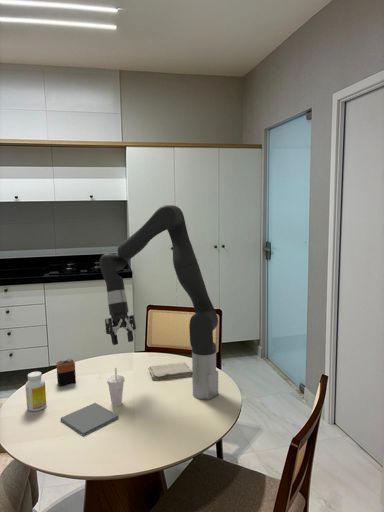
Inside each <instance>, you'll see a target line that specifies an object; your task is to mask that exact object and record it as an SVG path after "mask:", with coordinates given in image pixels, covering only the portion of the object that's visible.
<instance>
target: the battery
mask: <svg viewBox="0 0 384 512" xmlns="http://www.w3.org/2000/svg"><path fill="white" fill-rule="evenodd" d="M76 377H77V376H76V363H75V361H74V359H73V358H67V359H66V360H59V361H57V362H56V379H57V384H58V386H59V387H63V386H64V387H65V386H68V385H73V384H76V383H77V379H76Z"/></svg>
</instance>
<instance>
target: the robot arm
mask: <svg viewBox="0 0 384 512" xmlns="http://www.w3.org/2000/svg"><path fill="white" fill-rule="evenodd" d="M184 215H185V214H184V212H183V211H182V209H181V208H179V206H176V205H173V204H172V205H170V204H166V205H161V206H159V207H158V209H157V210H156V211H155V212H154V213H153V214H152V215H151V216H150V218H148V220H147V221H146V222H145V223H144V224H143V225H142V226H141V227H140V228H139V229H137V231H135V232H134V233H133V234H132V235H131V236H130V237H128V238H126V240H124V241H122V243H120V244H119V246H117V252H116V253H104V254H102V255H101V256H100V257H99V269H100V271H101V274H102V277H103V279H104V281H105V285H106V293H107V295H106V297H107V304H108V305H107V306H108V312H109V315H110V317H108V318H105V319H104V324H105V333H106V335H110V337H111V343H112V345H113V346H115V345H118V344H119V340H118V334H117V333H118V331H119V330H120V329H125V331H126V332H127V333H126V336H127V342H128V343H130V342H134V333H133V332H134V331H135V330H137V326H136V320H135V316H134V315H133V314H131V315H128V313H129V305H128V304H129V303H128V300H127V299H128V298H127V293H126V289H125V283H124V279H123V277H122V276H120V275H119V274H118V273H117V272H119V271H121V270H122V269H124V268H125V267H126V265H127V264H128V263H129V262H130V260H131V259H132V258H134V257H135V256H136V255H137V254H139V253H140V252H141V251H142V250H143V249H145V247H147V245H148V244H149V242H150V241H151V240H153V238H155V237H157V236H158V235H159V234H161V233H162V232H164V231H167V233H168V235H169V238H170V240H171V244H172V265H173V268H174V271H175V275H176V277H177V280H178V282H179V284H180V286H181V287H182V288H183V290H184V291H185V293H187V295H188V297H189V298H190V300H191V303H192V306H193V310H194V313H193V315H192V316H191V317H190V319H189V323H188V324H189V326H188V328H189V330H188V331H189V343H190V348H191V358H192V359H191V365H192V366H191V371H192V376H191V377H192V378H191V379H192V381H191V382H192V395H193V397H195V398H196V399H201V400H208V401H210V400H211V399H213V398H215V397H216V396H218V395H219V370H217V345H216V342H214V331H215V329H216V328H217V326H218V323H219V319H218V314H217V312H216V309H215V308H214V305H213V303H212V301H211V299H210V296H209V293H208V291H207V286H206V284H205V281H204V278H203V275H202V272H201V269H200V266H199V263H198V259H197V257H196V253H195V251H194V248H193V244H192V243H191V240H190V236H189V233H188V230H187V223H186V219H185V216H184Z"/></svg>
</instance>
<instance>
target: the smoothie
mask: <svg viewBox="0 0 384 512" xmlns="http://www.w3.org/2000/svg"><path fill="white" fill-rule="evenodd" d="M117 372H118V370H117V367H115V368H114V375H111V376H109V377H107V379H106V383H107V385H108V391H109V392H108V393H109V395H110V401H111V406H113V407H118V406H121V405H122V404H123V403H122V402H123V392H124V384H125V377H124V376H123V375H118V374H117Z"/></svg>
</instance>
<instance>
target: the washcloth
mask: <svg viewBox="0 0 384 512" xmlns="http://www.w3.org/2000/svg"><path fill="white" fill-rule="evenodd" d="M148 371H149V375H150V377H151V380H152V381H165V380H174V379H180V378H187V377H192V369H191V368H190V367H189V366H188V364H187V363H186V362H176V363H166V364H158V365H151V366H149V367H148Z"/></svg>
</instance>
